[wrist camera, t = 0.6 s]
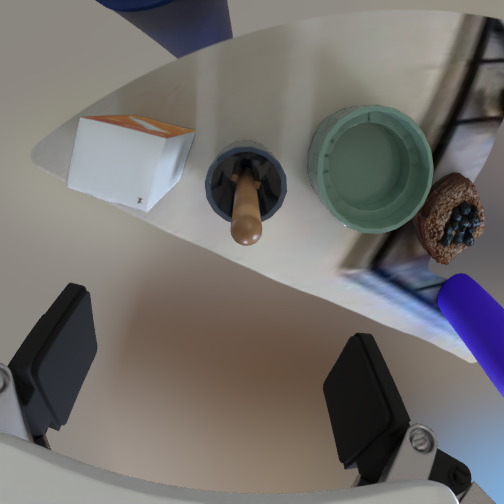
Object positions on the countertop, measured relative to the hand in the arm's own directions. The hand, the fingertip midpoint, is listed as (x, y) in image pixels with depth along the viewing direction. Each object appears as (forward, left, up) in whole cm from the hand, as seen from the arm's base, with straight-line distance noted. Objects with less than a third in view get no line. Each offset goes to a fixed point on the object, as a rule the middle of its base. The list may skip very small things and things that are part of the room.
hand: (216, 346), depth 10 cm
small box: (-1, -10, -27) cm, 29 cm away
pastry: (-6, +30, -27) cm, 41 cm away
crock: (-1, +1, -27) cm, 27 cm away
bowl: (-7, +14, -27) cm, 31 cm away
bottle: (+5, +41, -27) cm, 49 cm away
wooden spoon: (-1, +1, -26) cm, 26 cm away
